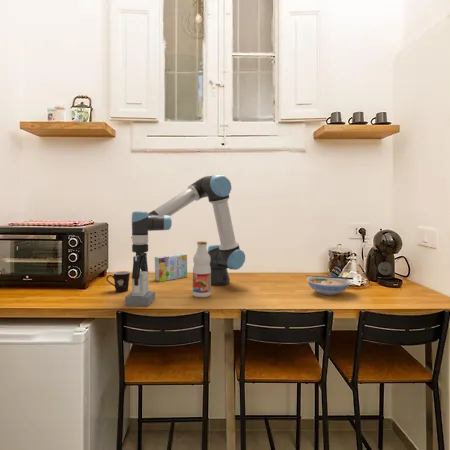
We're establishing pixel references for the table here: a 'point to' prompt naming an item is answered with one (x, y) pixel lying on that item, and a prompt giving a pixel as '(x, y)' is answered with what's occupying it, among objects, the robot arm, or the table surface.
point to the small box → (141, 284)
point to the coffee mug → (120, 281)
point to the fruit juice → (201, 271)
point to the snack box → (170, 267)
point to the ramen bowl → (329, 284)
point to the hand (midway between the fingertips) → (140, 289)
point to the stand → (140, 299)
